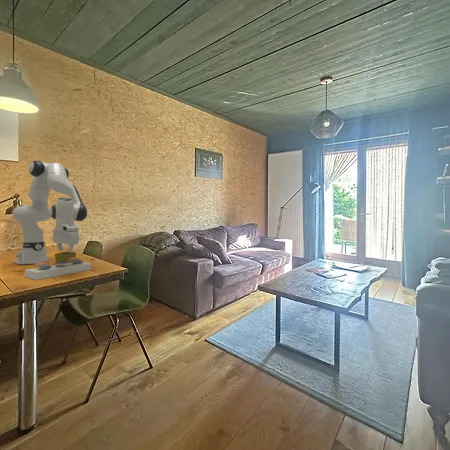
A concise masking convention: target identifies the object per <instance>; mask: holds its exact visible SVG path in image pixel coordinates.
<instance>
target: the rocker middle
mask: <svg viewBox="0 0 450 450" xmlns="http://www.w3.org/2000/svg"><path fill="white" fill-rule="evenodd" d="M67 262H68V261H67V260H66V261H60V262H56V261H55V262H52V266H53V265H58V264H63V263H67Z"/></svg>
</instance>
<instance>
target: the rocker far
mask: <svg viewBox="0 0 450 450" xmlns="http://www.w3.org/2000/svg"><path fill="white" fill-rule="evenodd" d="M69 260H70V261H72V262H73V263H75V264H79V263H83V262H84V260H81V259H80V258H78V257H72V258H69Z"/></svg>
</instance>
